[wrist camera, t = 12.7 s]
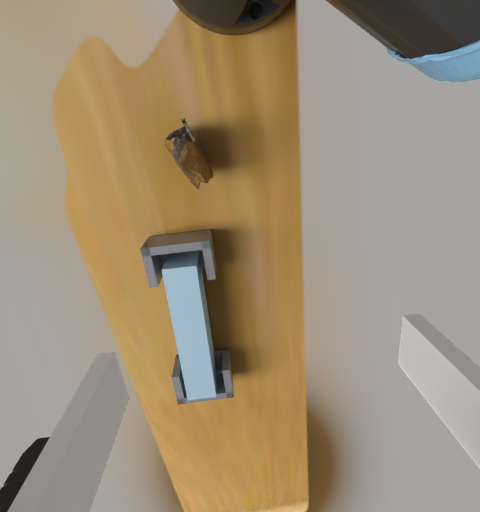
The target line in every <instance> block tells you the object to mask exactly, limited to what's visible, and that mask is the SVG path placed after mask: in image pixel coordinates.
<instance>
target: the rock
mask: <svg viewBox="0 0 480 512" xmlns="http://www.w3.org/2000/svg"><path fill="white" fill-rule="evenodd" d="M182 122H183V124H184V127H182V128H180V129H178V130H175V131H173V133H170V134H169V135H168V137H167V138H166V140H165V142H166V147H167V149H168V150H169V151H170V153H171V154H172V155H173V157H174V159H175V161H176V164H177V165H178V166H179V168H181V169H182V171H183V172H184V174H185V175H186V176H187V177H188V179H189V180H190V181H191V183H192V184H193V185H194V186H196V187H197V189H199V185H200V182H204V183H208V181H209V180H210V178H213V171H212V169H211V167H210V165H209V162H208V160H207V159H206V157H205V155H204V153H203V152H202V151H201V149H200V148H199V146H198V144H197V142H196V140H195V138H194V136H193V134H192V132H191V130H190V128H189V126H188V125H187V122H186V121H185V118H184V120H182Z"/></svg>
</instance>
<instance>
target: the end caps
mask: <svg viewBox="0 0 480 512" xmlns="http://www.w3.org/2000/svg"><path fill="white" fill-rule="evenodd" d="M192 251H199V253H200V260H201V267H202V268H206V274H207V280H215V279H216V260H215V253H214V246H213V239H212V233H211V229H208V230H200V231H192V232H183V233H175V234H167V235H158V236H150V237H149V238H148V239H147V240H146V242H145V243H144V245H143V246H142V247H141V253H142V257H143V261H144V266H145V270H146V274H147V278H148V282H149V286H150V287H157V286H158V285H159V283H160V281H161V278H162V276H163V275H162V270H161V269H162V267H163V265H164V263H165V261H166V258H167V256H168V254H173V253H183V252H192ZM214 355H215V362H216V369H217V390H216V397H213V398H204V399H195V400H188V399H187V394H186V389H185V384H184V379H183V374H182V369H181V364H180V359H179V355H176V359H175V364H174V369H173V374H172V380H173V384H174V389H175V393H176V397H177V401H178V404H185V403H193V402H200V401H208V400H216V399H224V398H232V397H234V396H233V375H232V368H231V361H230V354H229V349H221V350H214Z"/></svg>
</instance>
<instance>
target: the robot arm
mask: <svg viewBox="0 0 480 512" xmlns="http://www.w3.org/2000/svg"><path fill="white" fill-rule="evenodd" d="M173 1H174V2H175V4H176V5H177V6H178V8H179V9H180V10H181V11H182V12H183V13H184V14H185V15H186V16H187V17H188V18H190V19H191V20H192V21H194V22H195V23H197V24H198V25H200V26H201V27H203V28H205V29H208V30H210V31H213V32H216V33H220V34H226V35H240V34H246V33H250V32H253V31H256V30H258V29H260V28H262V27H264V26H266V25H267V24H269V23H270V22H272V21H273V20H274V19H275V18H277V17H278V16H279V15H280V14H281V13H282V12H283V10H284V9H285V8H286V7H287V6H288V4H289V3H290V1H291V0H173ZM326 1H327V2H329V3H330V4H331V5H333V6H334V7H335V8H336V9H338V10H339V11H341V12H342V13H343V14H344V15H346V16H347V17H348V18H349V19H351V20H352V21H353V22H355V23H356V24H357V25H358V26H360V27H361V28H362V29H364V30H365V31H366V32H367V33H369V34H370V35H371V36H373V37H374V38H375V39H377V40H378V41H379V42H381V43H382V44H383V45H384V46H385V47H387V51H388V53H389V54H390V55H392V56H393V57H394V58H396V59H397V60H400V61H403V62H407V63H409V64H411V65H412V66H414V67H415V68H417V69H418V70H420V71H421V72H423V73H424V74H426V75H427V76H429V77H431V78H433V79H436V80H439V81H451V82H464V81H470V80H475V79H479V78H480V0H326ZM398 364H399V366H400V367H401V369H402V370H403V371H404V372H405V374H406V375H407V376H408V378H409V379H410V380H411V381H412V383H413V384H414V385H415V387H416V388H417V389H418V390H419V392H420V393H421V394H422V396H424V398H425V399H426V401H427V402H428V403H429V405H430V406H431V407H432V408H433V409H434V411H435V412H436V414H437V415H438V416H439V417H440V419H441V420H442V421H443V423H444V424H445V425H446V426H447V428H448V429H449V430H450V431H451V433H452V434H453V435H454V437H455V438H456V439H457V440H458V442H459V443H460V444H461V446H462V447H463V448H464V449H465V451H466V452H467V453H468V455H469V456H470V457H471V458H472V460H473V461H474V462H475V464H476V465H477V466H478V467H479V469H480V367H479V366H478V365H477V364H475V363H474V362H473V361H472V360H471V359H470V358H469V357H468V356H467V355H465V354H464V353H463V352H462V351H461V350H460V349H459V348H457V347H456V346H455V345H454V344H453V343H452V342H451V341H450V340H449V339H447V338H446V337H445V336H444V335H443V334H442V333H441V332H440V331H438V330H437V329H436V328H435V327H434V326H433V325H432V324H430V323H429V322H428V321H427V320H426V319H425V318H424V317H423V316H421V315H420V314H414V315H405V316H403V321H402V331H401V339H400V349H399V358H398ZM128 400H129V396H128V393H127V389H126V386H125V383H124V380H123V377H122V374H121V371H120V368H119V365H118V361H117V358H116V355H115V352H109V353H101V354H97V355H96V357H95V359H94V361H93V363H92V364H91V366H90V368H89V370H88V371H87V373H86V375H85V377H84V378H83V380H82V382H81V384H80V385H79V387H78V389H77V391H76V392H75V394H74V396H73V398H72V400H71V401H70V403H69V405H68V406H67V408H66V410H65V412H64V413H63V415H62V417H61V419H60V420H59V422H58V424H57V426H56V427H55V429H54V431H53V433H52V435H51V436H50V437H48V438H40V439H37V440H36V441H35V442H34V443H33V444H32V445H31V446H30V447H29V448H28V449H27V450H26V451H25V452H24V453H23V454H22V456H21V457H20V459H19V461H18V462H17V464H16V465H15V467H14V469H13V472H12V473H11V474H10V475H9V477H8V478H7V480H6V481H5V483H4V487H3V488H1V489H0V512H89V511H90V508H91V506H92V503H93V500H94V497H95V494H96V491H97V488H98V486H99V483H100V480H101V477H102V474H103V471H104V468H105V465H106V463H107V460H108V457H109V454H110V451H111V448H112V446H113V443H114V440H115V437H116V434H117V432H118V429H119V426H120V423H121V420H122V417H123V414H124V411H125V409H126V406H127V403H128Z"/></svg>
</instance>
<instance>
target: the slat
mask: <svg viewBox="0 0 480 512" xmlns="http://www.w3.org/2000/svg"><path fill="white" fill-rule="evenodd" d="M161 270H162V275H163V280H164V285H165V290H166V295H167V300H168V305H169V310H170V315H171V320H172V325H173V330H174V335H175V340H176V345H177V350H178V354H179V359H180V364H181V369H182V374H183V379H184V384H185V389H186V394H187V399H188V400H195V399H204V398H213V397H216V390H217V369H216V362H215V355H214V349H213V342H212V335H211V328H210V321H209V314H208V308H207V301H206V294H205V287H204V280H203V273H202V267H201V260H200V253H199V251H192V252H183V253H173V254H168V256H167V258H166V261H165V263H164V265H163V267H162V269H161Z"/></svg>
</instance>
